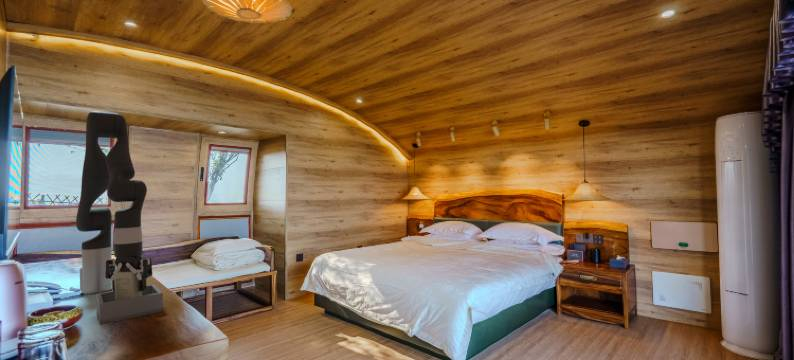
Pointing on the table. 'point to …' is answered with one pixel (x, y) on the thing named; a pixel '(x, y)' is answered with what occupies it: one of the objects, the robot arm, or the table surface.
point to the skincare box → (126, 285)
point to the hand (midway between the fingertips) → (129, 291)
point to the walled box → (128, 305)
